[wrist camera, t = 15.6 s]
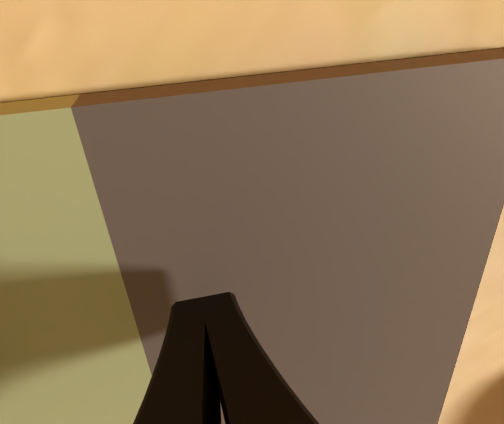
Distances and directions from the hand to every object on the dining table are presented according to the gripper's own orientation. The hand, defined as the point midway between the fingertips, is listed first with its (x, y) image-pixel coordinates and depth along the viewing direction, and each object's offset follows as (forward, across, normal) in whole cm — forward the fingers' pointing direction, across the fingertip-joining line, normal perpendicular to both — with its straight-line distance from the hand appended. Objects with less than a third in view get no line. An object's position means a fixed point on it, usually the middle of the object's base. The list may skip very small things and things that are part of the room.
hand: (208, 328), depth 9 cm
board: (+2, +3, +5) cm, 6 cm away
